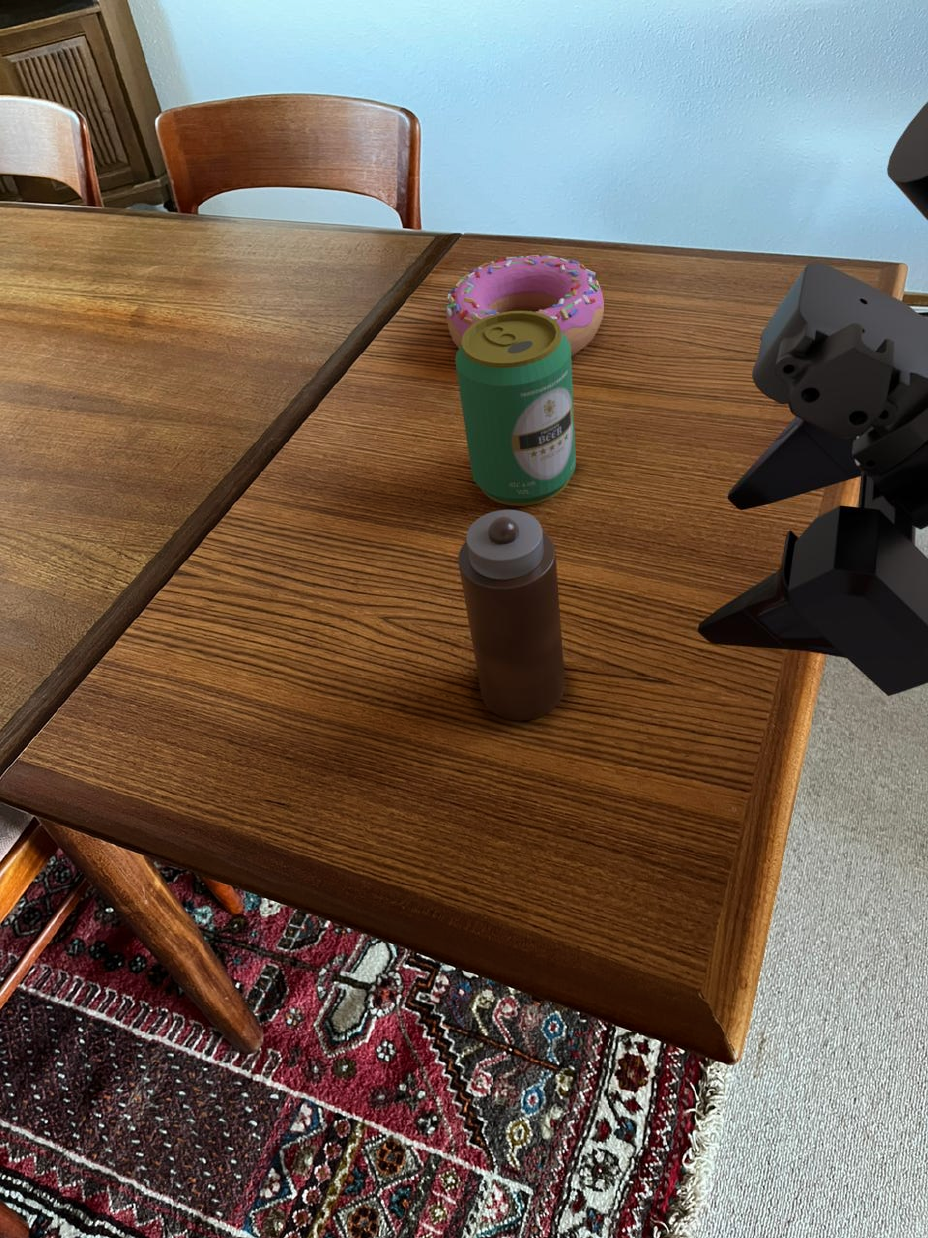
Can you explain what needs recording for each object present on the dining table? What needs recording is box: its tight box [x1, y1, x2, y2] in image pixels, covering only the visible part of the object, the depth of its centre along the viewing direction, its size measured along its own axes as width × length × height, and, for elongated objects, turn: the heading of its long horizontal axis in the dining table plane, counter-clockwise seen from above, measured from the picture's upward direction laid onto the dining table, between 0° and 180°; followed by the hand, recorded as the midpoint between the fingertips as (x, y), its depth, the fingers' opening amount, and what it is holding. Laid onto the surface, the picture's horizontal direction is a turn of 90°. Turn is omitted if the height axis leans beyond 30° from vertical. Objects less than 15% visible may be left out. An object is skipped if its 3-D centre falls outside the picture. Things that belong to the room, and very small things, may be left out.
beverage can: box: [454, 311, 577, 507], centre depth 68 cm, size 8×8×12 cm
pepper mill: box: [457, 509, 566, 722], centre depth 53 cm, size 5×5×14 cm
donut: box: [445, 254, 605, 357], centre depth 85 cm, size 14×14×5 cm
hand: (719, 564), depth 44 cm, fingers open, 9 cm apart
